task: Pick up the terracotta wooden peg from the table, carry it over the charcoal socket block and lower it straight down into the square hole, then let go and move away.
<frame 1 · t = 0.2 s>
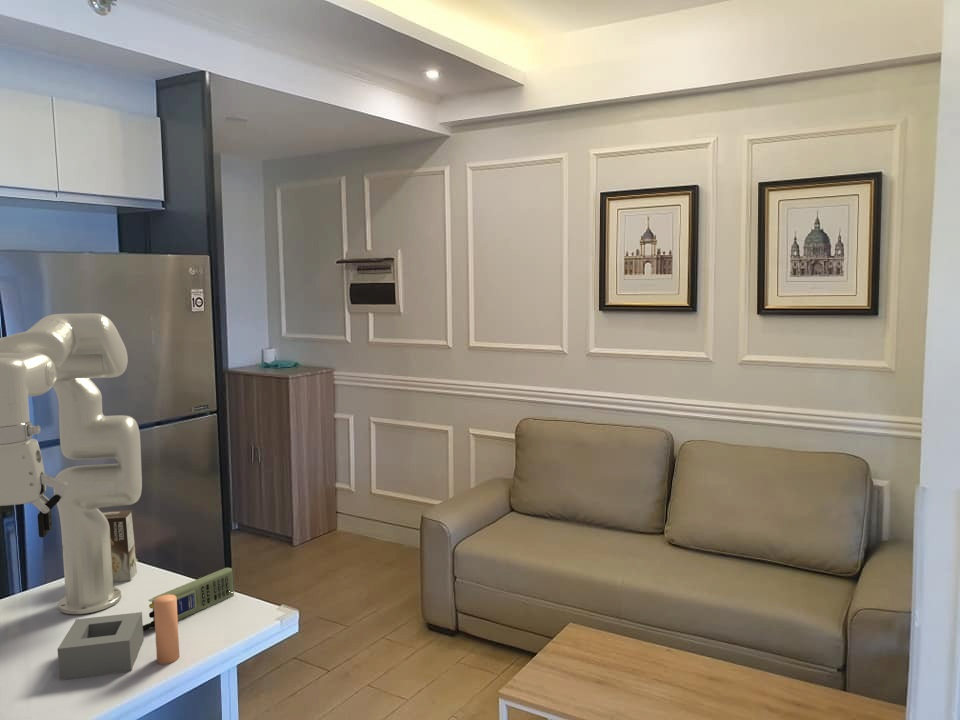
hand: (10, 537, 117), 31 cm above the table, tool pointing down, fingers open, 9 cm apart
peg: (168, 658, 139), on the table
handheld radio: (184, 617, 157), on the table
coffee box: (114, 578, 178), on the table
socket block: (103, 659, 139), on the table
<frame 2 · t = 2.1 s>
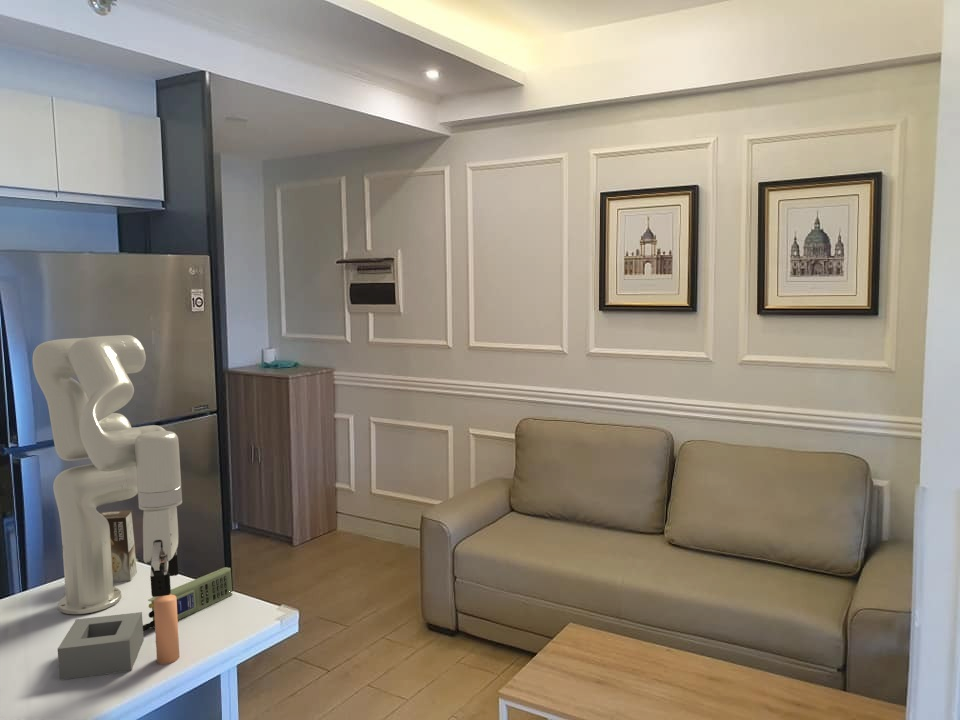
hand: (165, 585, 137), 15 cm above the table, tool pointing down, fingers open, 9 cm apart
nothing on the table moved.
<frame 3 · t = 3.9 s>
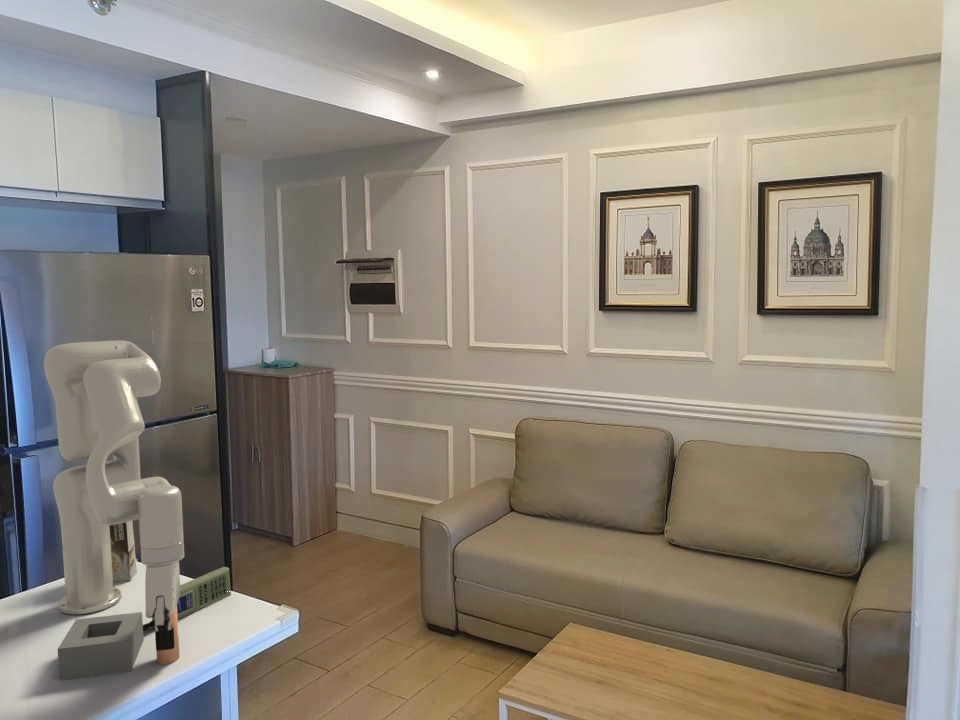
hand: (167, 642, 139), 3 cm above the table, tool pointing down, fingers closed on peg, 4 cm apart
peg: (168, 658, 139), on the table, touching gripper
everything else where it was.
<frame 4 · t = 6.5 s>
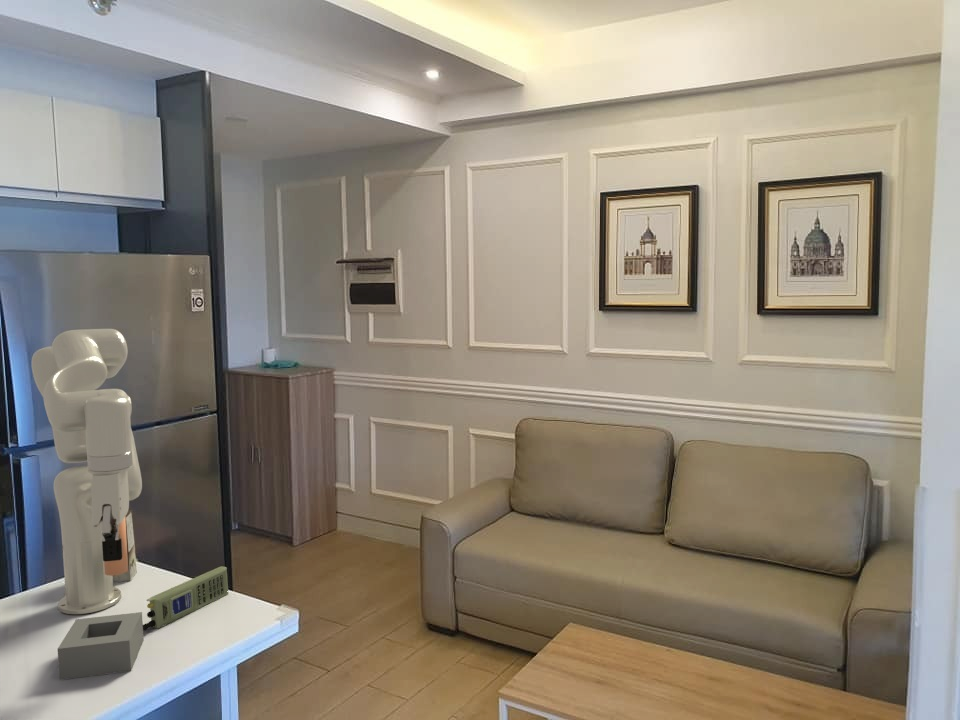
hand: (115, 554, 137), 21 cm above the table, tool pointing down, fingers closed on peg, 4 cm apart
peg: (116, 571, 137), point 17 cm above the table, touching gripper
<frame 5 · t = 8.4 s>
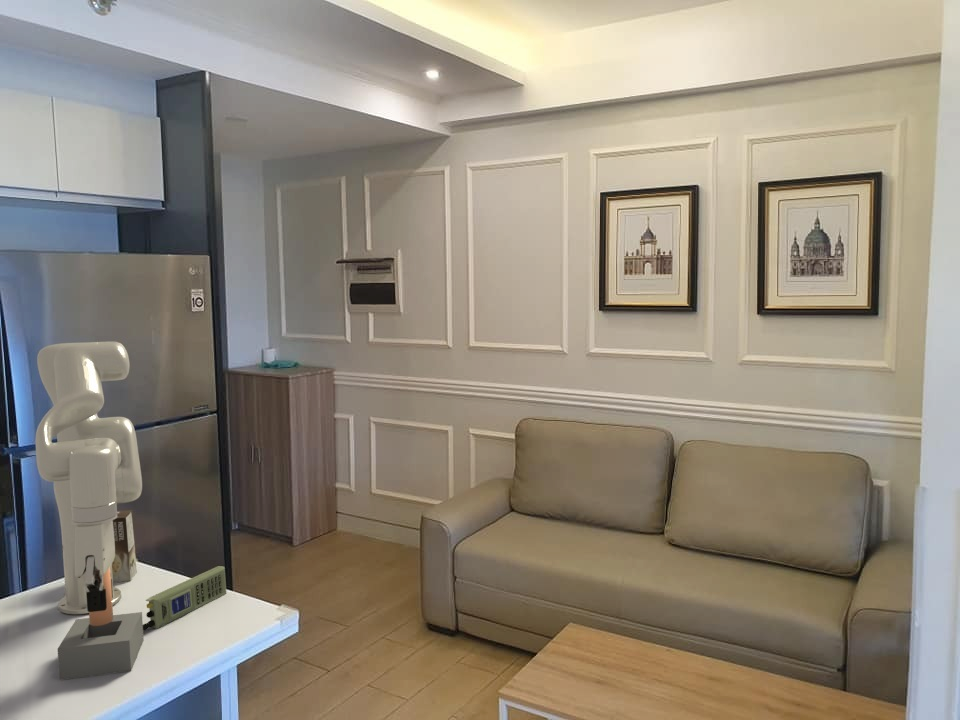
hand: (100, 604, 138), 11 cm above the table, tool pointing down, fingers closed on peg, 4 cm apart
peg: (101, 621, 138), point 8 cm above the table, touching gripper
when the fingers open (7 cm above the table, at t = 9.5 s): peg drops 4 cm, resting in socket block.
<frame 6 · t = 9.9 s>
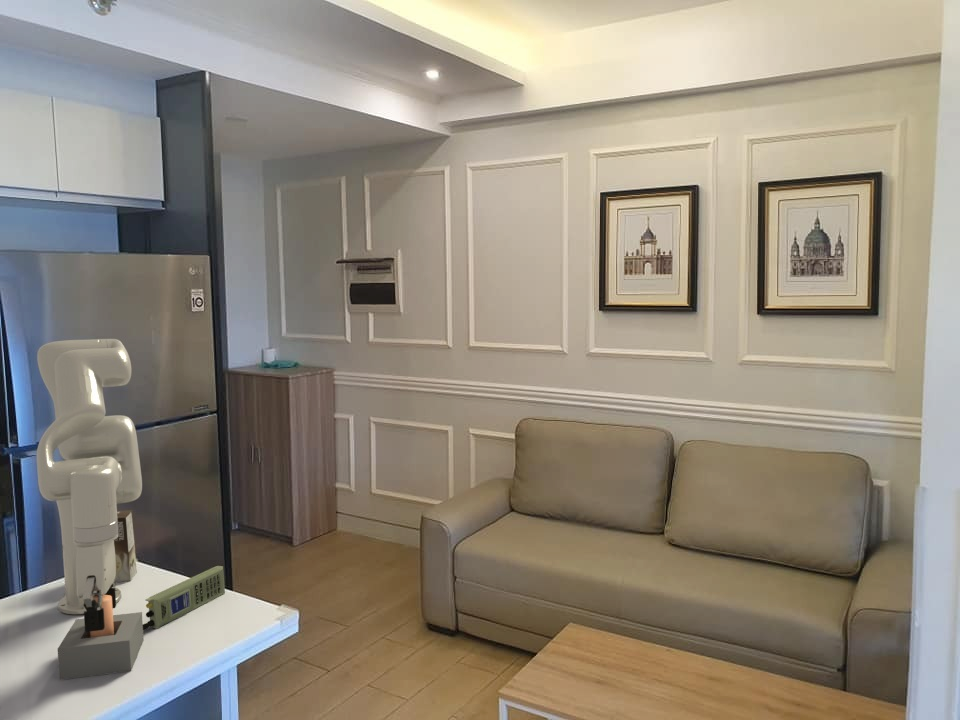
hand: (101, 618, 138), 8 cm above the table, tool pointing down, fingers open, 8 cm apart
peg: (103, 659, 139), resting in socket block
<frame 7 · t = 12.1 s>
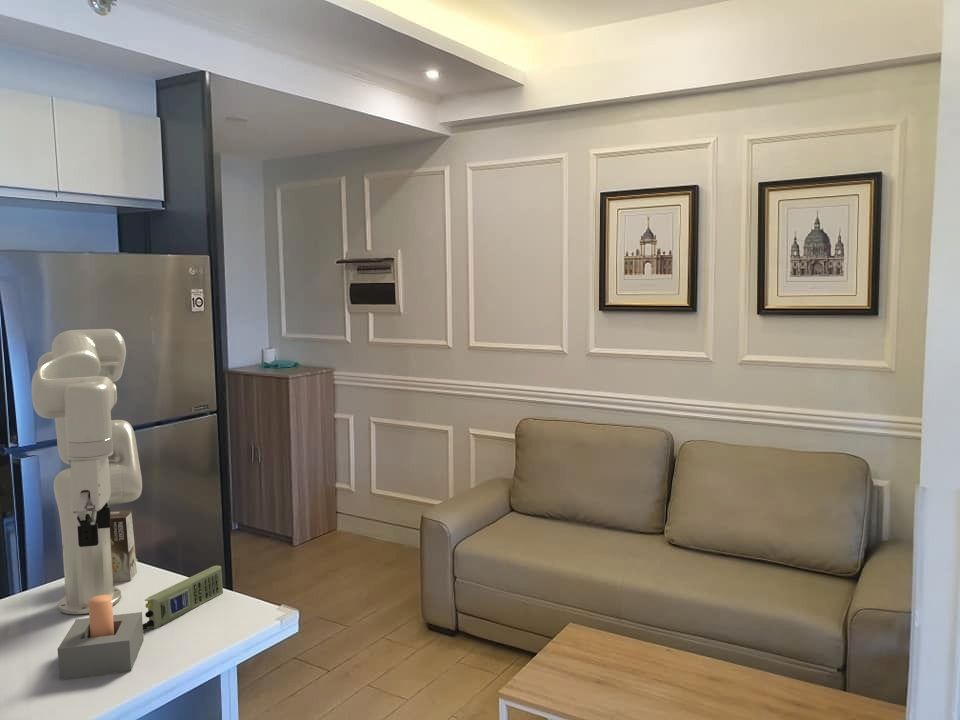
hand: (95, 536, 137), 24 cm above the table, tool pointing down, fingers open, 9 cm apart
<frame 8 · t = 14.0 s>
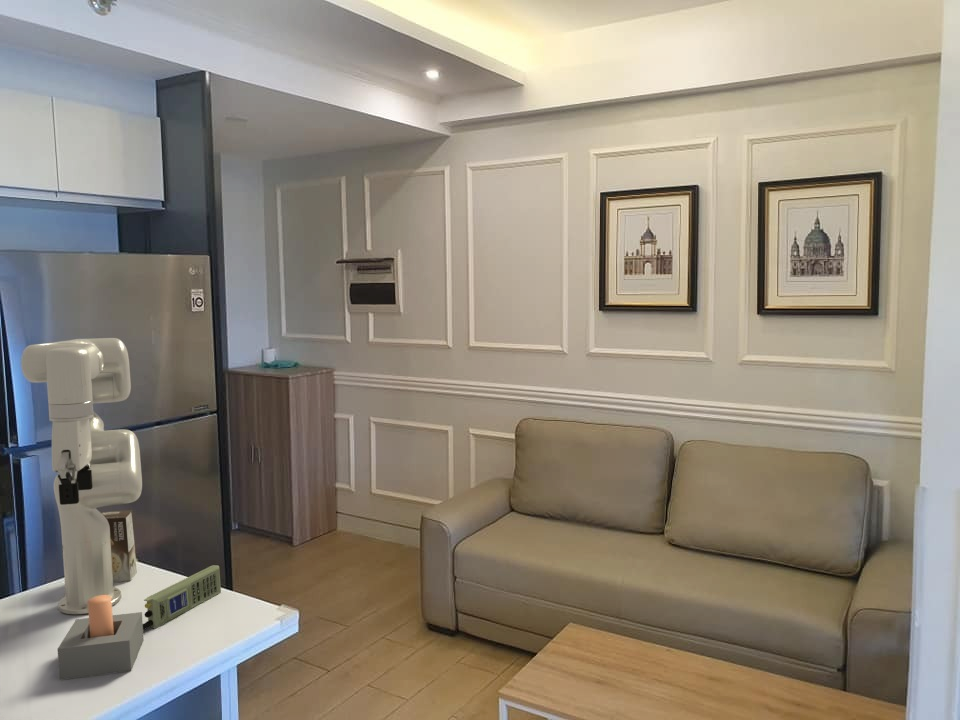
hand: (76, 496, 142), 30 cm above the table, tool pointing down, fingers open, 9 cm apart
at the end: peg 0.1 cm off-centre on the socket block, point 0.0 cm above the socket block's base; peg tilted 0°; the gripper is holding nothing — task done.
